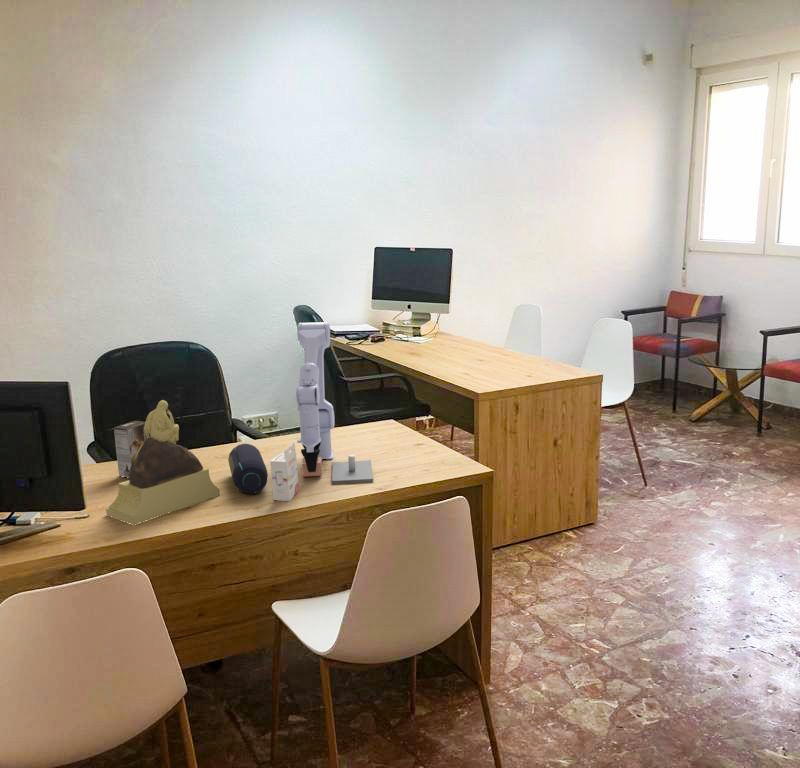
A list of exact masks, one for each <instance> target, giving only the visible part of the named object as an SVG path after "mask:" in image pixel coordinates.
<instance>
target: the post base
mask: <svg viewBox="0 0 800 768" xmlns="http://www.w3.org/2000/svg"><path fill="white" fill-rule="evenodd" d="M347 459H348V460H347V461H335V462H332V470H331V471H332V474H331V479H332V480H331V484H332V485H341V484H343V485H344V483H346V484H361V483H362V484H363V483H374V476H373V467H372V460H356V455H354V454H352V455H351V454H350V455H348V457H347Z"/></svg>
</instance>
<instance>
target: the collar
mask: <svg viewBox="0 0 800 768" xmlns="http://www.w3.org/2000/svg"><path fill="white" fill-rule="evenodd" d="M301 461H302V462H301V466H302V477H315V476H322V475H323V463H322V460H321V457H318V458H317V465H316V471H315V472H308V469H307V465H306V461H305V459H304V457H302V460H301Z"/></svg>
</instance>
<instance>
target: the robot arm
mask: <svg viewBox="0 0 800 768" xmlns="http://www.w3.org/2000/svg"><path fill="white" fill-rule="evenodd" d="M296 327H297V328H296V329H297V330H296V331H297V332H296V333H297V335H296V336H297V340H298V341H299V345H300V346H301V348H303V352H304V357H303V358H304V359H303V360H304V364H303V365H302V366H301V367H300V369H299V370H300V371H299V381H298V382H299V384H298V387H297V388H296V390H295V391H296V392H295V398H296V399H295V400H296V403H297V410H298V413H299V425H300V426H299V427H300V438H298V439H297V441H296V443H297V444H299V443H300V444H301V445H302V447H303V448H302V449H300V453H301V455H302V456H303V457H302V458H304V459H305V461H306V465H307V469H308V472H315V471H316V465H317V458H318V457H321V460H323V459H326V460H333V459H334V449H332V436H331V434H332V433H331V430H333V429H334V428H335V411H334V406H333V404H332V403H330V402H329V401H328V400H327V399H326V398H325V397H326V396H325V394H326V393H325V392H326V391H325V361H324V360H325V359H324V355H325V350H326V349H327V348H330V346H331V345H330V344H331V327H330V323H329V322H328V321H324V322H323V321H322V322H316V321H315V322H299V323H298V324H297V326H296ZM323 461H324V460H323Z"/></svg>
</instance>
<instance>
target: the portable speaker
mask: <svg viewBox="0 0 800 768" xmlns="http://www.w3.org/2000/svg"><path fill="white" fill-rule="evenodd" d="M227 461H228V465H229V470H230V473H231V477H232V481H233V484H234V486H235V488H237V490H239V491H240V492H241V493H244V494H249V495H252V494H253V495H254V494H256V493H260V492H261V491H262V490H263V489H264V488H266V485H267V484H268V476H269V472H268V469H267V466H266V464H265V462H264V459H263V457H262V454H261V451H260V450H259V449H258V448H257V447H256V446H255V445H252V444H250V443H240V444H238V445H237V446H235V447H233V448H232V450H231V451H230V453H229V454H228V460H227Z"/></svg>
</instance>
